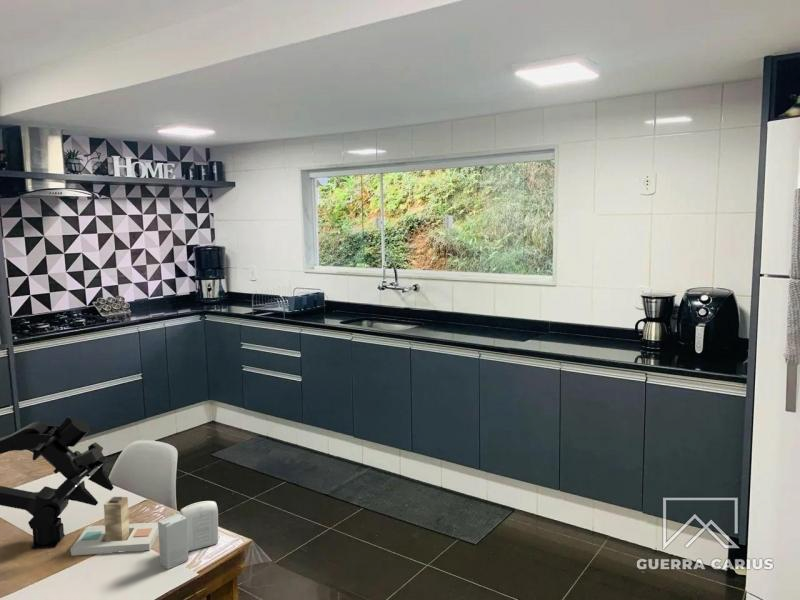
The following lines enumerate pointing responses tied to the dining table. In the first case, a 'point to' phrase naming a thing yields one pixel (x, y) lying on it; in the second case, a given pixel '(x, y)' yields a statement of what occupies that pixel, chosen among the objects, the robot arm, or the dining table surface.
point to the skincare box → (173, 541)
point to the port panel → (95, 541)
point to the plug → (116, 519)
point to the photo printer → (201, 524)
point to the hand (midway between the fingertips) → (104, 496)
